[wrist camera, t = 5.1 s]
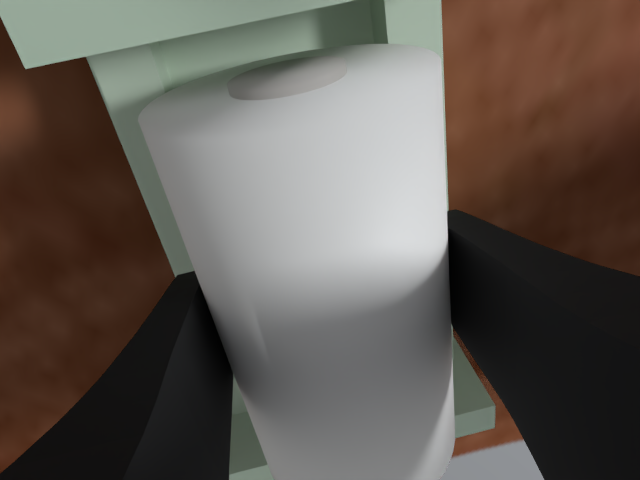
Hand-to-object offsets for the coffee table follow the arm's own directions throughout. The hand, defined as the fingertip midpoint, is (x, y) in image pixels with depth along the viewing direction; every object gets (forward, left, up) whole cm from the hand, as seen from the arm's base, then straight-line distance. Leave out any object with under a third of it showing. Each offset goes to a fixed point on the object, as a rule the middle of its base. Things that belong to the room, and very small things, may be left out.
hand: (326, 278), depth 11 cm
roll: (0, 0, +1) cm, 1 cm away
